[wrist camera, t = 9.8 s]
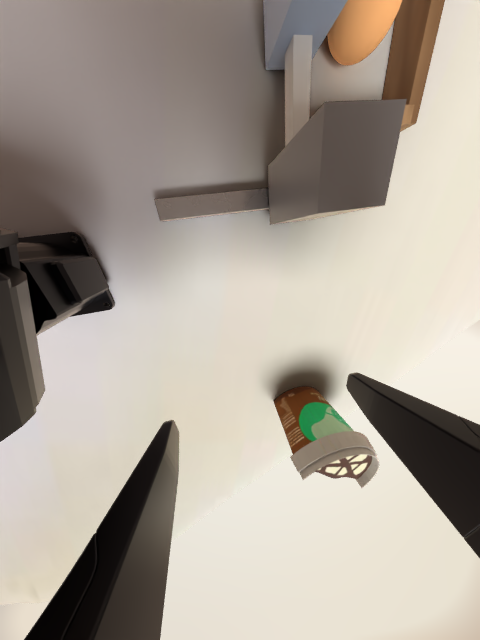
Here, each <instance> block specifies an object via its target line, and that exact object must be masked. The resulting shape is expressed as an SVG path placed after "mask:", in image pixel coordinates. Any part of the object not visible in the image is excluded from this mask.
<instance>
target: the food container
mask: <svg viewBox="0 0 480 640" xmlns="http://www.w3.org/2000/svg"><path fill="white" fill-rule="evenodd" d="M274 404H275V407H276V409H277V412H278V415H279V418H280V420H281V423H282V426H283V428H284V431H285V434H286V437H287V439H288V442H289V445H290V447H291V450H292V453H293V455H292V456H291V459H292V461H293V463H294V465H295V467H296V469H297V471H298V472H300V475H301V477H302V479H303V480H304V479H306V478H307V477H308V476H309V475H311V474H312V473H314V472H319V473H321V474H323V475H326V476H328V477H331V478H341V477H349V478H355V479H356V480H357V482H358V483H359V485H360V486H361V488H363V487H364V486H365V485H367V483H369V481H371V480H372V478H373V477H374V476H375V475H376V473H377V471H378V469H379V465H380V464H379V460H378V458H377V455H376V453H375V450H374V449H373V447H372V445H371V444H370V442H369V440H368V439H367V437H366V436H365V435H363V434H361V433H359V432H354V431H353V430H352V428H351V427H350V426H349V425H348V424H347V423H346V422H345V421H344V419H343V418H342V417H341V416H340V415H339V414H338V413H337V412H336V411H335V410H334V408H333V407H332V406H331V405H330V404H329V403H328V402H327V401H326V400H325V398H324V397H323V396H322V395H321V394H320V393H319V392H318V391H317V390H316V389H315V388H312V387H308V386H302V387H296V388H293V389H290V390H288V391H286V392H284V393H283V394H281V395H280V396H279V397H278V398H276V399H275V400H274Z"/></svg>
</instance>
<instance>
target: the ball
mask: <svg viewBox="0 0 480 640" xmlns="http://www.w3.org/2000/svg"><path fill="white" fill-rule="evenodd" d="M401 3H402V0H348V1H347V2H346V4H345V6H344V7H343V9H342V11H341V12H340V14H339V16H338V17H337V19H336V21H335V22H334V24H333V25H332V27H331V29H330V30H329V32H328V34H327V36H328V44H329V49H330V52H331V54H332V56H333V58H334V59H335V60H336V61H337V62H338V63H340V64H342V65H353V64H356V63H358V62H360V61H362V60H363V59H365V58H366V57H367V56H368V55H369V54H371V53H372V52H373V51H374V50H375V48H376V47H377V46H378V45H379V44H380V42H381V41H382V39H383V38H384V37H385V35H386V34H387V32H388V30H389V29H390V27H391V25H392V23H393V21H394V19H395V17H396V15H397V13H398V11H399V8H400V5H401Z"/></svg>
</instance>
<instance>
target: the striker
mask: <svg viewBox="0 0 480 640" xmlns="http://www.w3.org/2000/svg"><path fill="white" fill-rule="evenodd" d="M347 1H348V0H263V6H264V34H265V62H266V70H285V147H284V149H283V150H282V151H281V152H280V153H279V154H278V155H277V156H276V158H275V159H274V160H273V161H272V162H271V163H270V164H269V166H268V186H269V212H270V225H272V224H279V223H287V222H295V221H303V220H310V219H316V218H321V217H326V216H332V215H337V214H342V213H347V212H352V211H357V210H363V209H368V208H373V207H378V206H383V205H385V201H386V196H387V192H388V187H389V182H390V177H391V172H392V168H393V163H394V158H395V153H396V148H397V144H398V139H399V134H400V129H401V124H402V120H403V115H404V110H405V105H406V100H407V99H393V100H365V101H337V102H324V104H323V105H322V106H321V107H320V108H319V109H318V110H317V111H316V113H315V114H314V115H313V116H312V117H311V118H310V119H309V113H310V88H311V63H312V58H313V57H314V55H315V53H316V52H317V50H318V49H319V47H320V45H321V44H322V42H323V40H324V39H325V37H326V35H327V34H328V32H329V30H330V29H331V27H332V25H333V24H334V22H335V21H336V19H337V17H338V16H339V14H340V12H341V11H342V9H343V7H344V6H345V4H346V2H347Z"/></svg>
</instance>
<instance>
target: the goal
mask: <svg viewBox="0 0 480 640" xmlns="http://www.w3.org/2000/svg"><path fill="white" fill-rule="evenodd" d="M444 2H445V0H402V3H401V5H400V8H399V11H398V13H397V15H396V18H395V24H394V30H393V36H392V43H391V49H390V55H389V61H388V67H387V73H386V79H385V85H384V91H383V97H382V100H393V99H407V100H406V105H405V110H404V115H403V120H402V124H401V129H400V132H401V131H403V130H404V129H406V128H408V127H410V126H412V125H414V124H415V123H416V121H417V117H418V113H419V109H420V104H421V100H422V96H423V92H424V87H425V83H426V79H427V74H428V70H429V66H430V62H431V57H432V53H433V49H434V45H435V40H436V36H437V32H438V28H439V23H440V19H441V15H442V10H443V6H444Z"/></svg>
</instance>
